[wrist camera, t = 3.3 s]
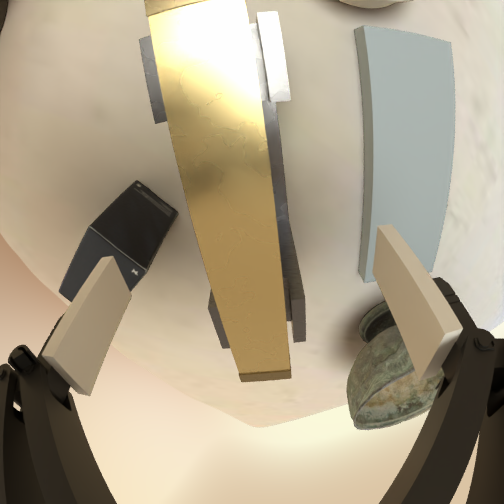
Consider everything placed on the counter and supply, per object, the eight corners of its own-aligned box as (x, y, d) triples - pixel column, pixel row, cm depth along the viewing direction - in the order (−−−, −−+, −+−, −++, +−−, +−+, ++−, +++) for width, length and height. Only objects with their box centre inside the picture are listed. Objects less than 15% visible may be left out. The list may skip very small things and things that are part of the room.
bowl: (420, 346, 44) (446, 411, 32) (326, 362, 45) (339, 440, 33) (458, 263, 33) (509, 337, 21) (342, 275, 34) (376, 377, 22)
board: (358, 270, 34) (364, 283, 32) (354, 29, 18) (363, 25, 16) (423, 260, 33) (431, 271, 31) (437, 43, 17) (450, 42, 15)
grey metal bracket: (232, 265, 33) (223, 351, 23) (189, 52, 20) (137, 31, 10) (291, 258, 33) (305, 344, 22) (265, 39, 20) (275, 2, 9)
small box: (134, 175, 27) (86, 222, 18) (180, 212, 30) (151, 272, 21) (95, 238, 31) (54, 292, 23) (135, 267, 34) (105, 328, 25)
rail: (243, 335, 26) (241, 382, 21) (174, 16, 11) (143, -5, 7) (286, 331, 25) (291, 378, 21) (244, 3, 11) (240, -28, 7)
